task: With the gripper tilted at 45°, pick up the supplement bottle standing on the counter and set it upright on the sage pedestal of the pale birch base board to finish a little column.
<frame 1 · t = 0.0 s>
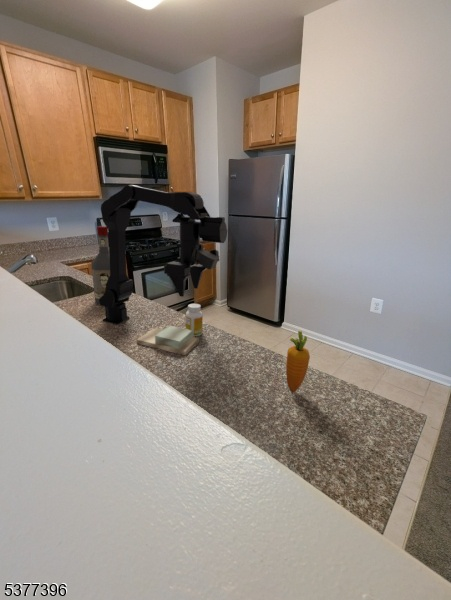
hand: (189, 292, 83), 15 cm above the countertop, tool pointing down, fingers open, 9 cm apart
column base: (168, 342, 83), on the countertop
carrot: (292, 392, 64), on the countertop
liquor: (108, 302, 113), on the countertop
supplement bottle: (193, 333, 90), on the countertop
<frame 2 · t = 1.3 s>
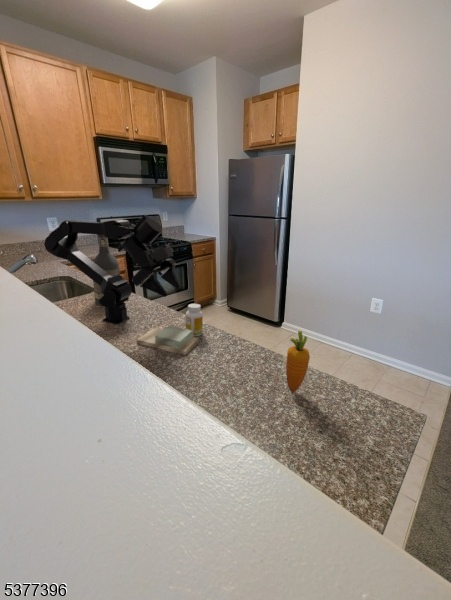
hand: (173, 291, 87), 13 cm above the countertop, tool tilted 45°, fingers open, 9 cm apart
nothing on the countertop moved.
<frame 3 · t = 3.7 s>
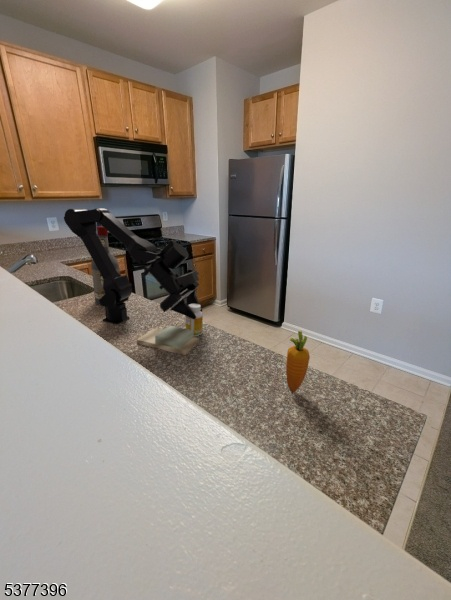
hand: (198, 315, 87), 7 cm above the countertop, tool tilted 45°, fingers closed on supplement bottle, 5 cm apart
supplement bottle: (193, 333, 90), on the countertop, touching gripper
everything else where it was.
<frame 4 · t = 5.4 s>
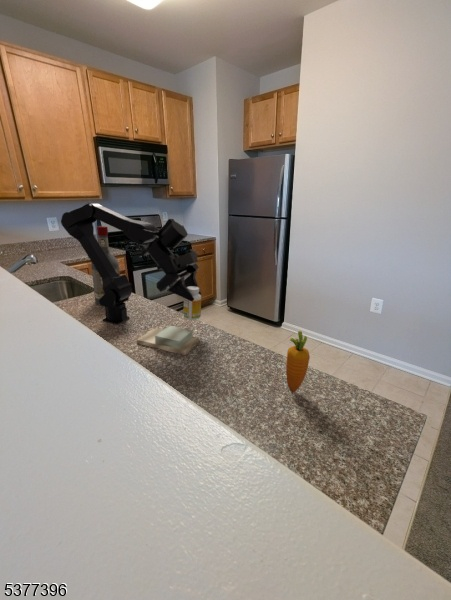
hand: (196, 297, 84), 13 cm above the countertop, tool tilted 45°, fingers closed on supplement bottle, 5 cm apart
supplement bottle: (192, 317, 87), point 6 cm above the countertop, touching gripper
everything else where it was.
when the fingers open (11 cm above the countertop, at t = 7.2 s): supplement bottle stays where it is, resting on column base.
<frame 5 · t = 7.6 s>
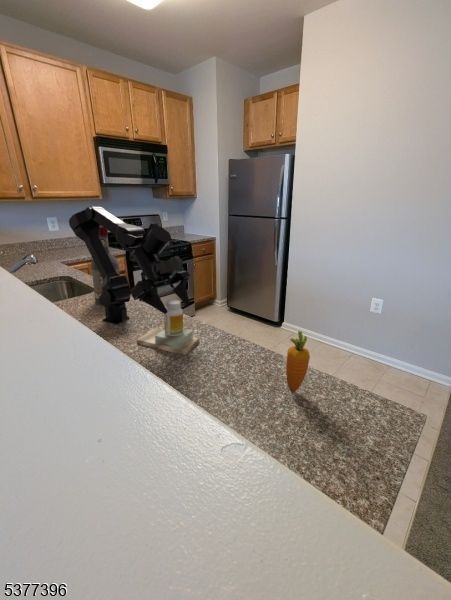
hand: (177, 308, 78), 12 cm above the countertop, tool tilted 45°, fingers open, 9 cm apart
supplement bottle: (173, 333, 81), point 3 cm above the countertop, touching column base
everything else where it was.
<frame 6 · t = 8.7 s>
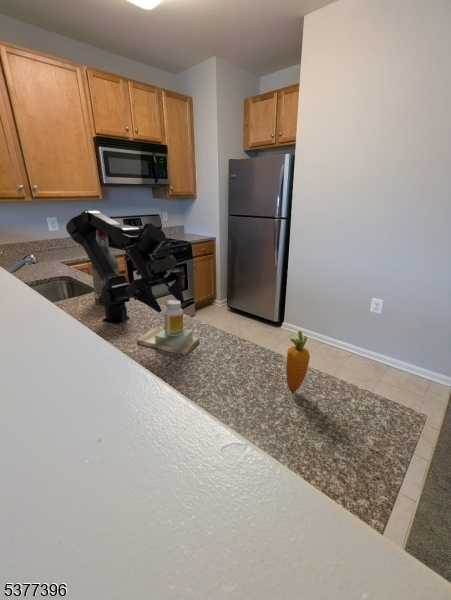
hand: (172, 307, 79), 11 cm above the countertop, tool tilted 45°, fingers open, 9 cm apart
nothing on the countertop moved.
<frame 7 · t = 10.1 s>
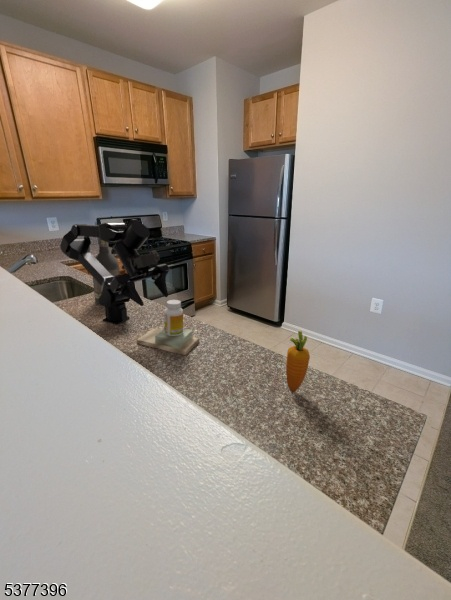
hand: (155, 300, 83), 12 cm above the countertop, tool tilted 45°, fingers open, 9 cm apart
nothing on the countertop moved.
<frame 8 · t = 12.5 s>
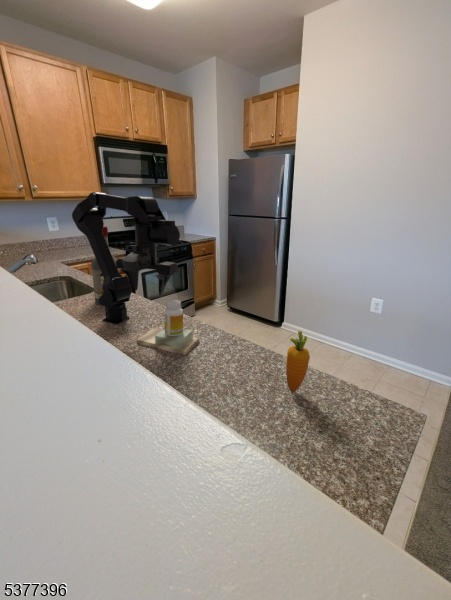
hand: (147, 292, 86), 13 cm above the countertop, tool pointing down, fingers open, 9 cm apart
nothing on the countertop moved.
at the end: supplement bottle 0.2 cm from the target spot on the column base, point 3.4 cm above the column base's base; supplement bottle tilted 0°; the gripper is holding nothing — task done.
